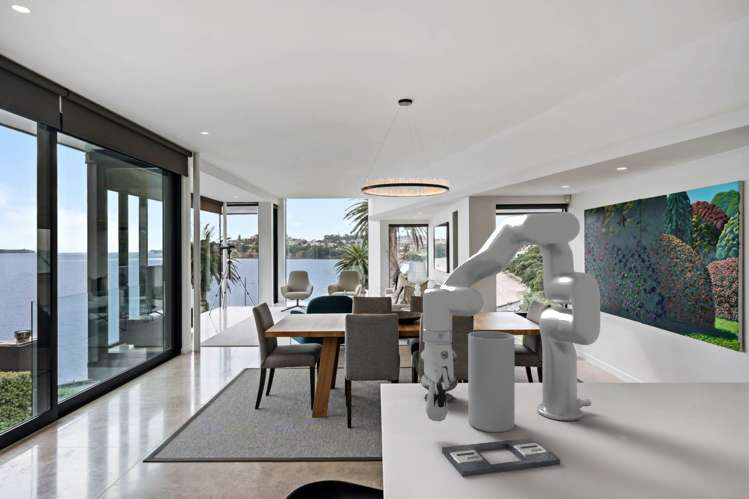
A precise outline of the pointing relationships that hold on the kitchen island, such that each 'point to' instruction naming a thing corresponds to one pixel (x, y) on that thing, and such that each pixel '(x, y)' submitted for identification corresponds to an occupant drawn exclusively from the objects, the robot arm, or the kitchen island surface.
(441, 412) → the salt shaker
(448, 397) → the apothecary jar
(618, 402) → the kitchen island surface
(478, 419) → the cylinder vase
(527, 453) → the label board
